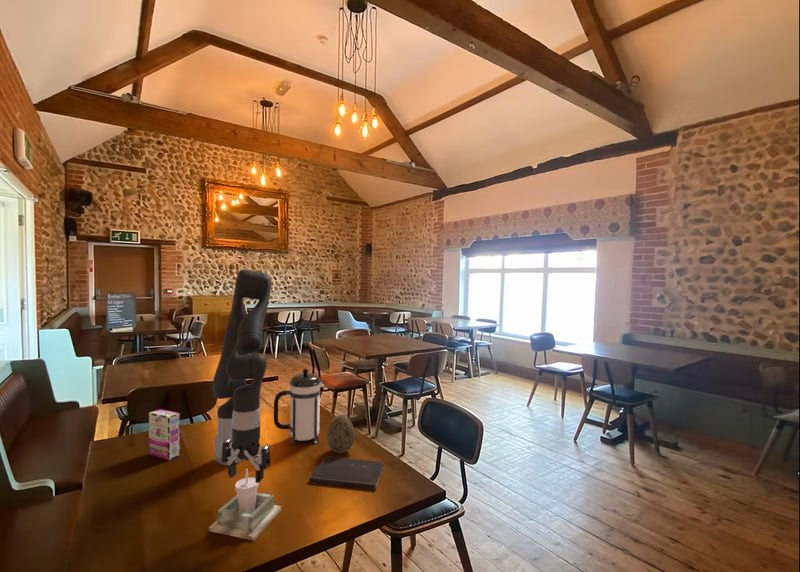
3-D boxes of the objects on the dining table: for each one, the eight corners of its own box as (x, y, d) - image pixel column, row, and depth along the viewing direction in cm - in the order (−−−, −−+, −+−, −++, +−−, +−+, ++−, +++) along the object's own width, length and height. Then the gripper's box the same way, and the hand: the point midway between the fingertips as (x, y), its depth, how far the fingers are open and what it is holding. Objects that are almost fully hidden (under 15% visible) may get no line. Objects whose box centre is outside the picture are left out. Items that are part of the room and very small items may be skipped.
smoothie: (236, 525, 109) (235, 475, 109) (234, 512, 115) (233, 465, 115) (260, 518, 112) (260, 470, 112) (257, 507, 118) (256, 460, 118)
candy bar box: (180, 455, 151) (180, 412, 150) (168, 461, 146) (168, 417, 145) (160, 449, 155) (160, 408, 154) (148, 454, 150) (147, 412, 149)
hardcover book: (325, 461, 149) (325, 455, 149) (384, 468, 146) (384, 461, 146) (308, 484, 133) (308, 478, 133) (375, 492, 130) (375, 485, 130)
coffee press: (304, 427, 178) (305, 362, 177) (329, 437, 169) (330, 368, 167) (272, 441, 164) (272, 370, 163) (297, 452, 155) (298, 377, 153)
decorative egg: (346, 461, 149) (346, 422, 148) (321, 455, 153) (321, 417, 152) (358, 448, 159) (359, 412, 158) (335, 444, 163) (335, 408, 162)
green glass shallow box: (208, 531, 108) (208, 513, 108) (240, 501, 122) (240, 486, 122) (253, 540, 105) (254, 522, 105) (281, 509, 119) (281, 493, 119)
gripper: (215, 425, 110) (215, 481, 111) (260, 432, 107) (260, 490, 108) (233, 415, 117) (232, 468, 118) (276, 421, 114) (275, 476, 115)
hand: (245, 478), depth 113 cm, fingers open, 8 cm apart
